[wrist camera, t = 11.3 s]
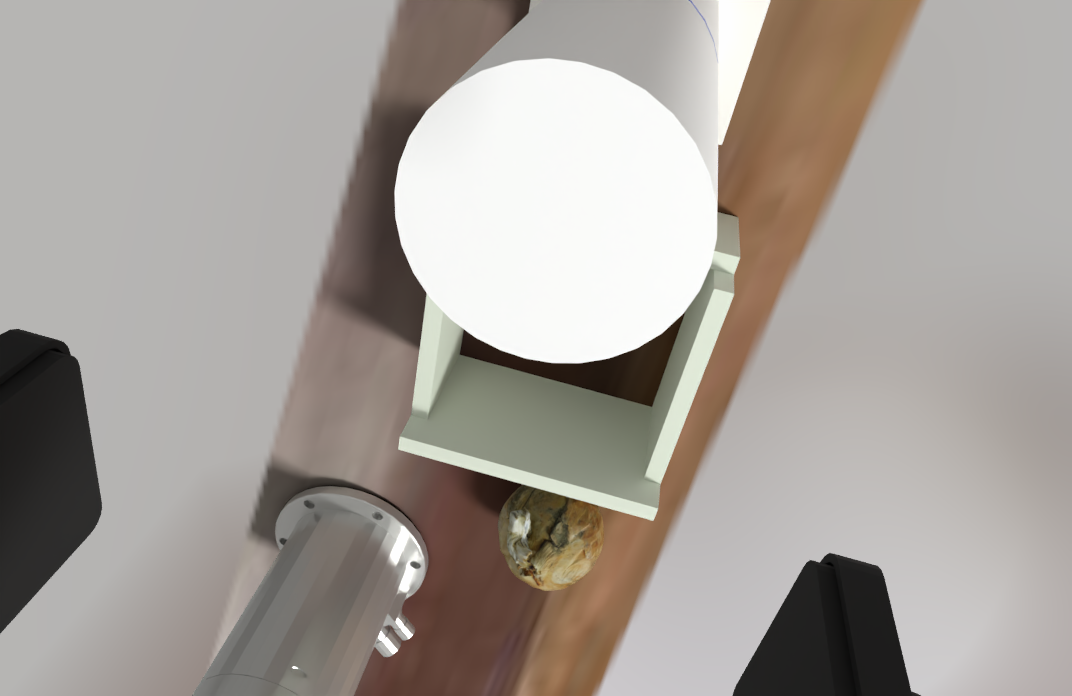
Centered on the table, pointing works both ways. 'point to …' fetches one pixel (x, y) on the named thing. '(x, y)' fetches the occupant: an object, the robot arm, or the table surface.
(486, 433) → the frame
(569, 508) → the onion
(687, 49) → the cylindrical container
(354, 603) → the robot arm
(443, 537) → the table surface
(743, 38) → the tile
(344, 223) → the table surface
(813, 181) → the table surface
